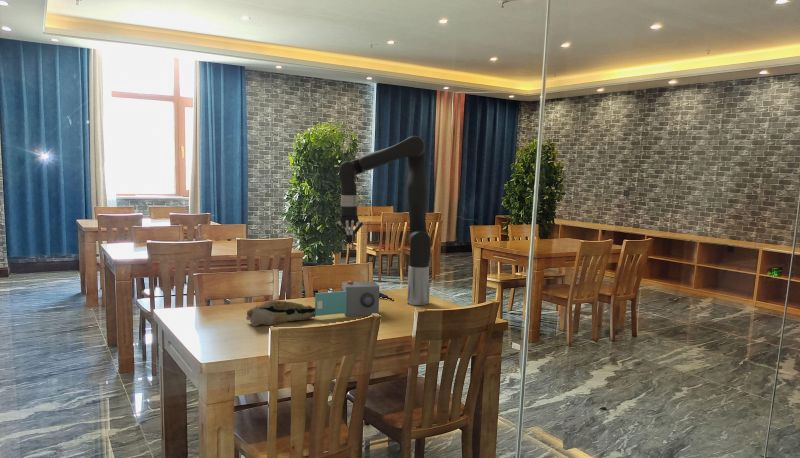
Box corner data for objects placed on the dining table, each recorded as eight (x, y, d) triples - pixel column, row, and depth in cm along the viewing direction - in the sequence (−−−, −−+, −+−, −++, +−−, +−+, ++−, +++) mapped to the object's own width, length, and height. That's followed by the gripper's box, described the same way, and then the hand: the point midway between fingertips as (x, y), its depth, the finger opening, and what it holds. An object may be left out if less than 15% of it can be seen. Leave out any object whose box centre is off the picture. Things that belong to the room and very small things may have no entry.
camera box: (373, 308, 237) (374, 279, 236) (379, 315, 226) (380, 284, 225) (341, 309, 234) (341, 279, 232) (345, 317, 222) (346, 285, 221)
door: (314, 315, 218) (315, 293, 217) (345, 312, 224) (346, 290, 223) (316, 316, 217) (316, 294, 216) (346, 313, 222) (347, 291, 221)
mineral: (312, 294, 223) (321, 304, 215) (309, 316, 225) (318, 325, 217) (247, 296, 209) (254, 306, 201) (244, 319, 211) (251, 329, 203)
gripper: (335, 205, 244) (335, 244, 246) (364, 205, 247) (365, 243, 249) (333, 204, 251) (333, 242, 253) (361, 204, 255) (362, 241, 256)
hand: (349, 243), depth 251 cm, fingers closed
